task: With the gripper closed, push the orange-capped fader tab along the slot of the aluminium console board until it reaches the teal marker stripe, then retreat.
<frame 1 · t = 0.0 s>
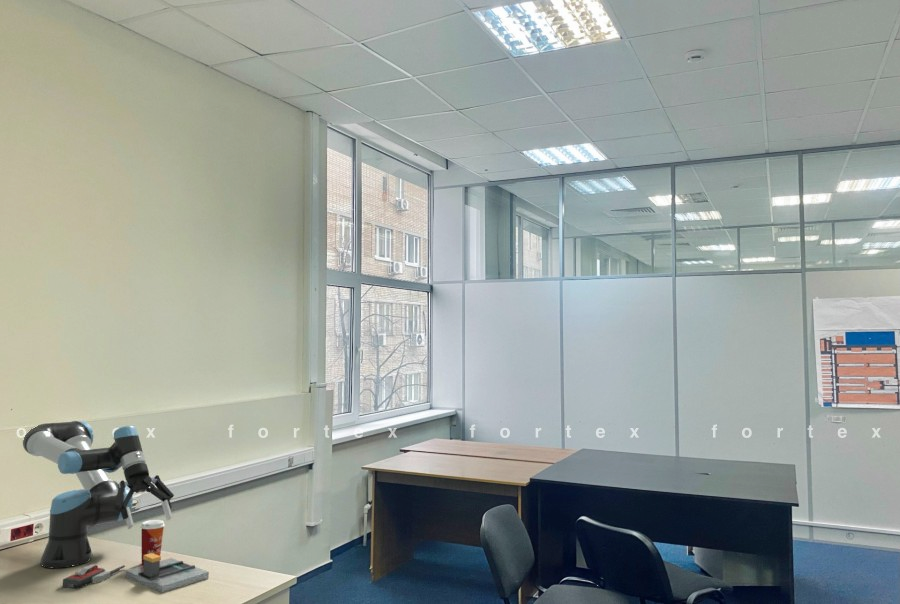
hand: (150, 522, 212), 15 cm above the table, tool tilted 35°, fingers open, 13 cm apart
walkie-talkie: (93, 580, 201), on the table
fader: (151, 565, 199), point 5 cm above the table, slide at 0.0 cm
paper cup: (150, 563, 216), on the table
console board: (166, 577, 203), on the table
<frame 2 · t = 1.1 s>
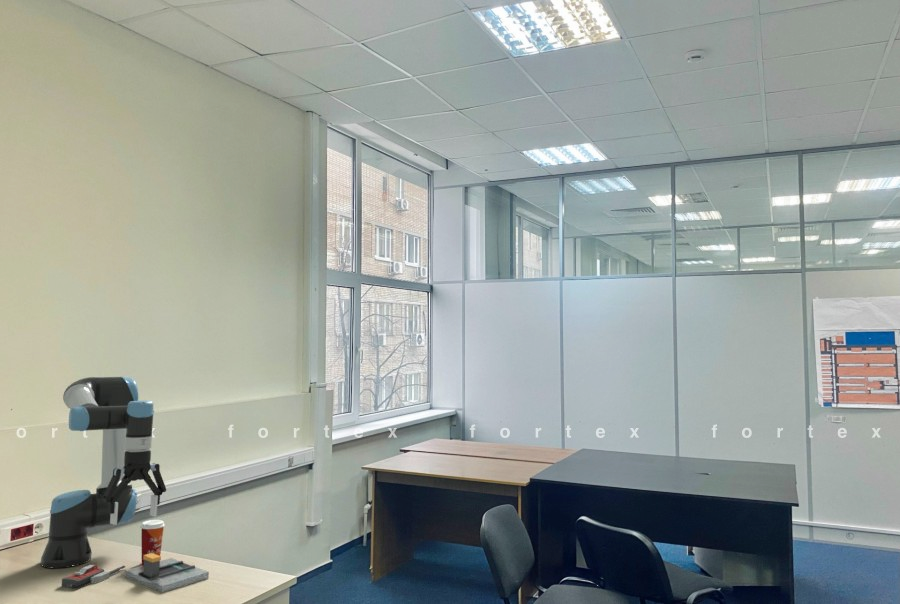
hand: (133, 519, 195), 21 cm above the table, tool pointing down, fingers open, 12 cm apart
nothing on the table moved.
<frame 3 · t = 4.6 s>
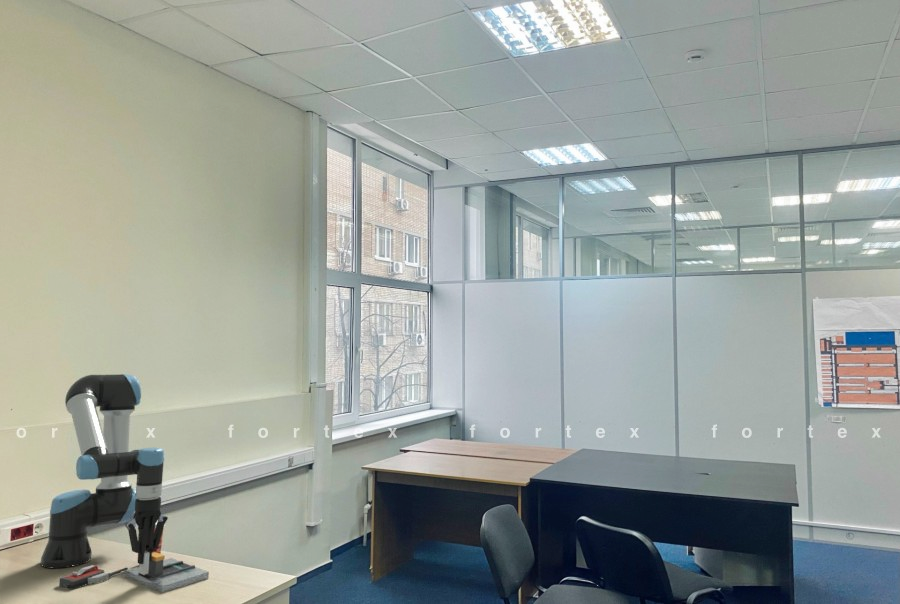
hand: (143, 573, 197), 3 cm above the table, tool pointing down, fingers closed
fader: (155, 564, 200), point 5 cm above the table, slide at 1.3 cm, touching gripper
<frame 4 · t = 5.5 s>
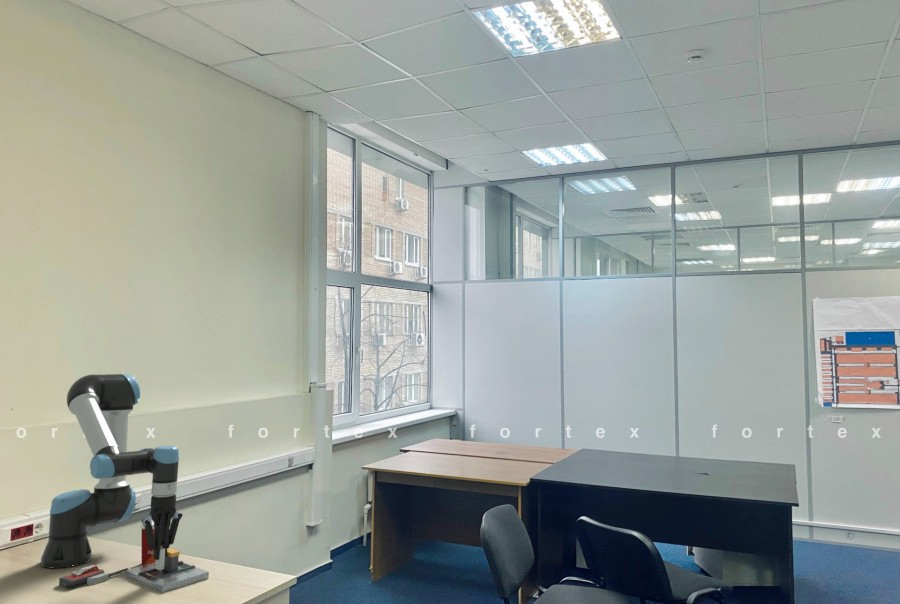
hand: (159, 568, 201), 3 cm above the table, tool pointing down, fingers closed
fader: (170, 560, 205), point 5 cm above the table, slide at 6.5 cm, touching gripper
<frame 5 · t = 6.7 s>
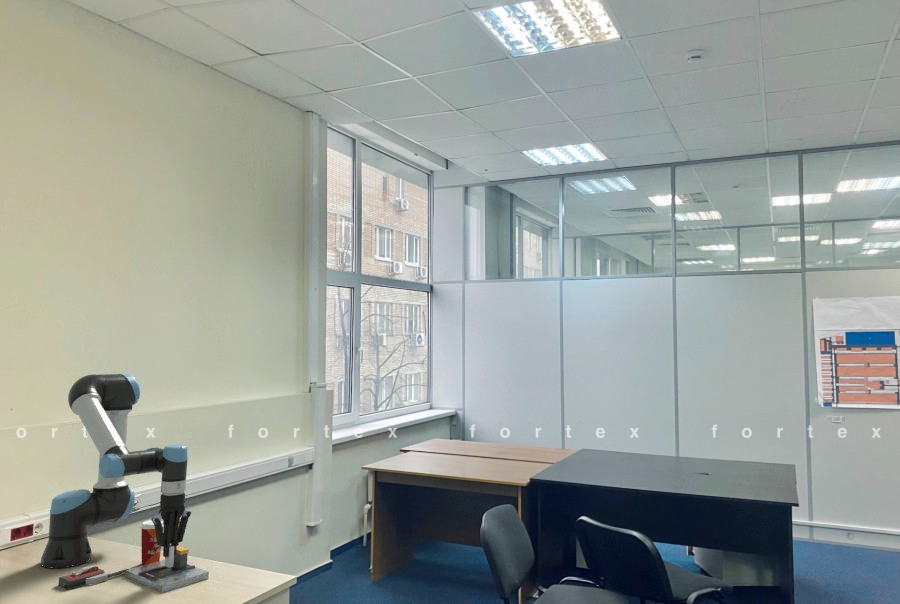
hand: (168, 566, 204), 3 cm above the table, tool pointing down, fingers closed
fader: (179, 557, 207), point 5 cm above the table, slide at 9.7 cm, touching gripper
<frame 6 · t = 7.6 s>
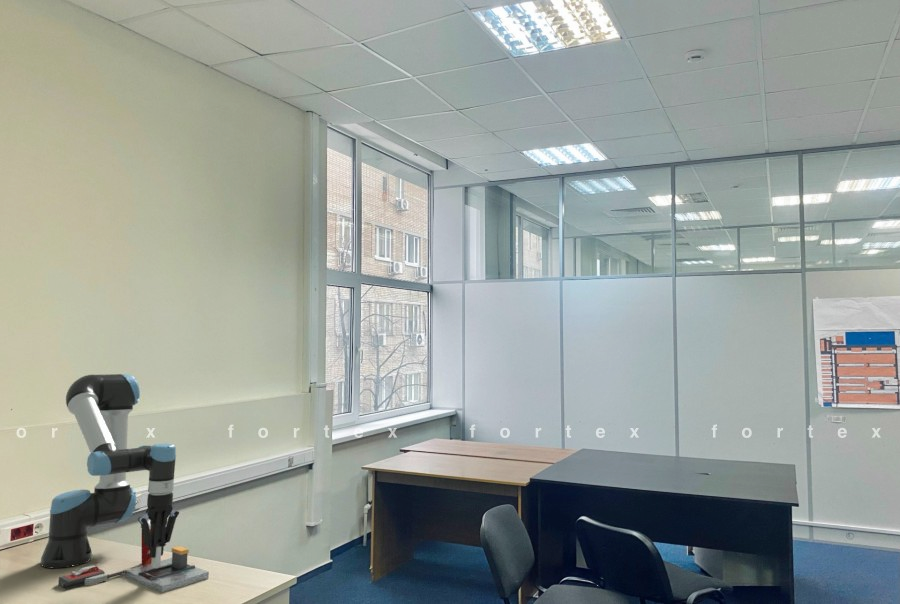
hand: (155, 566, 201), 4 cm above the table, tool pointing down, fingers closed
fader: (179, 557, 207), point 5 cm above the table, slide at 9.7 cm
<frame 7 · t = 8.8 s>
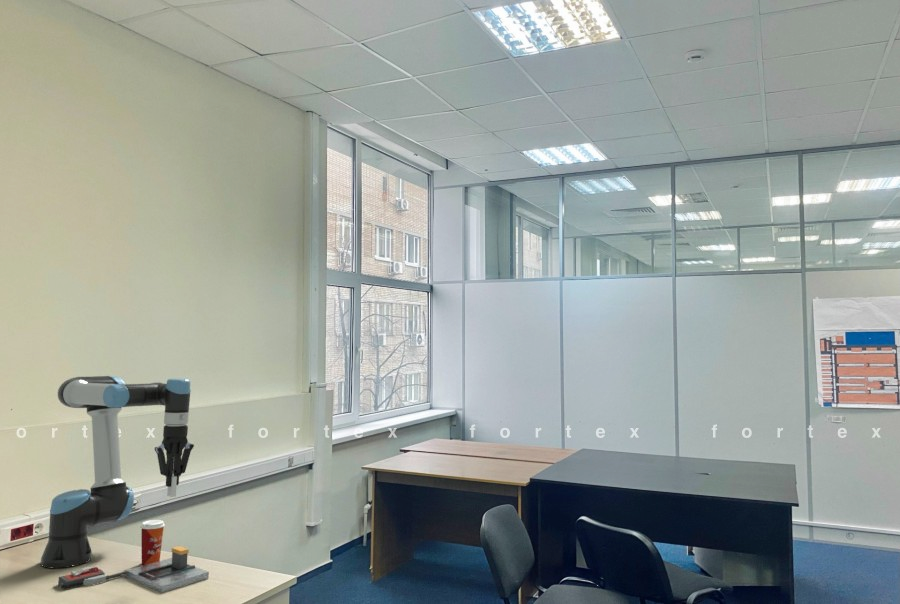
hand: (171, 495, 208), 26 cm above the table, tool pointing down, fingers closed
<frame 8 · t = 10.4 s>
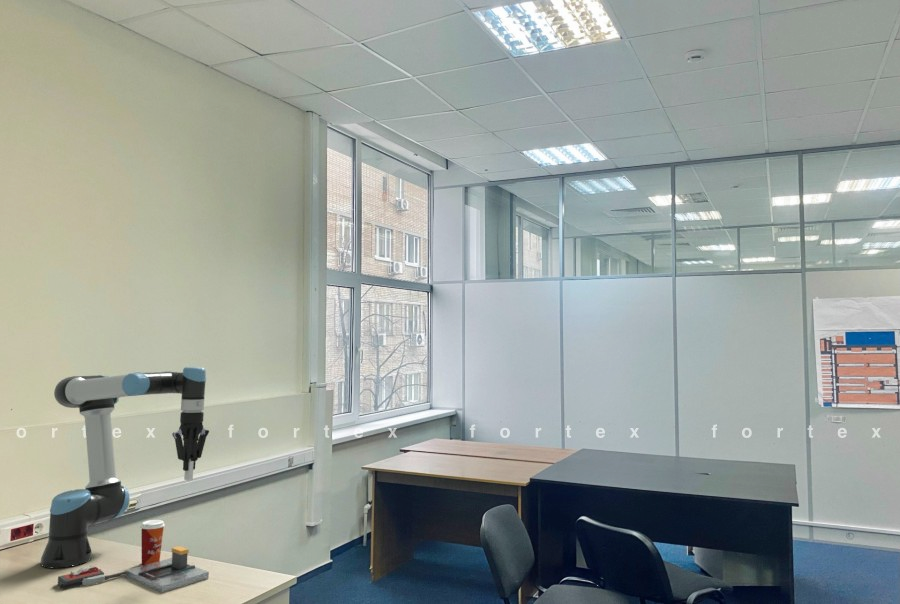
hand: (188, 479, 216), 29 cm above the table, tool pointing down, fingers closed
at the end: fader slide at 9.7 cm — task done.
